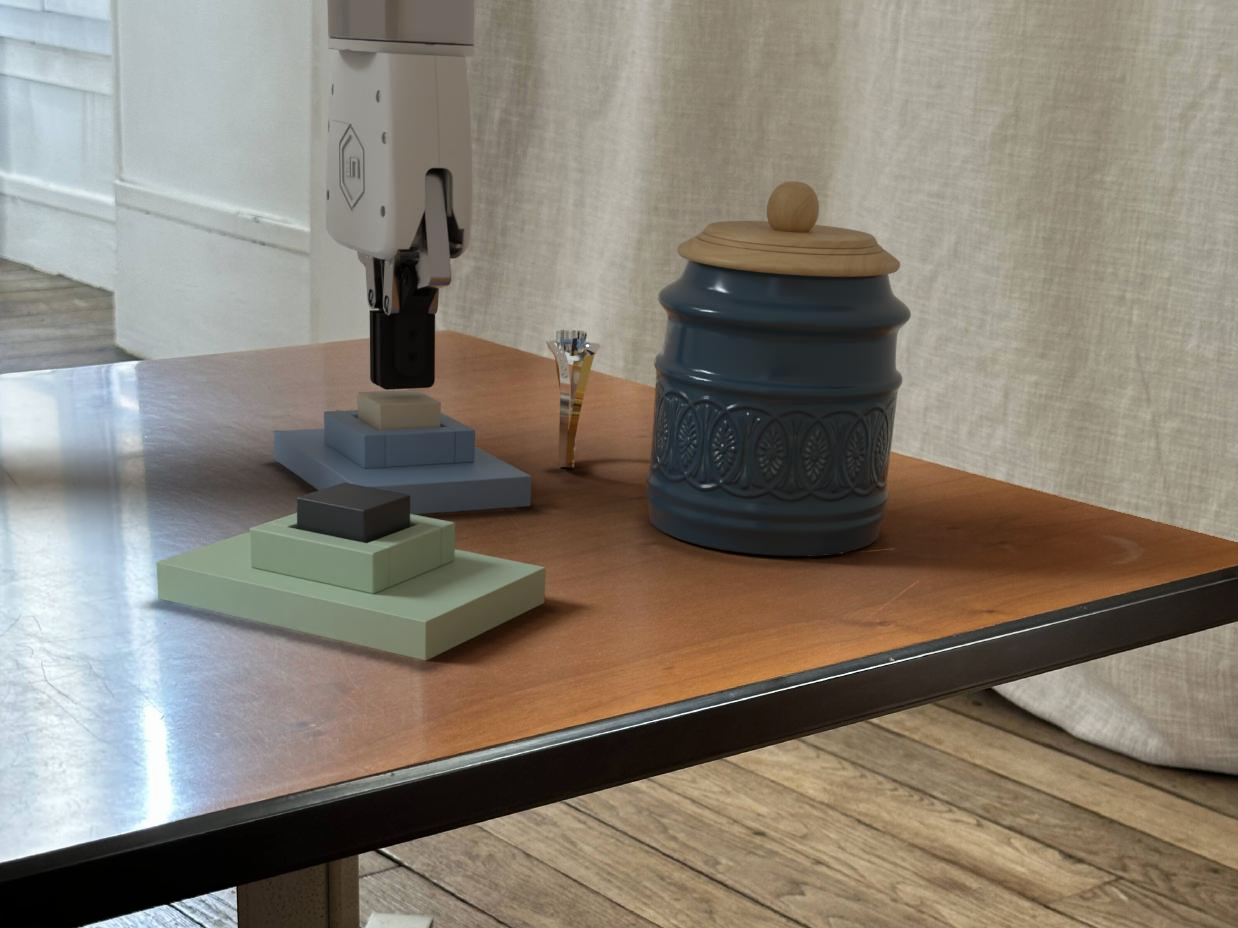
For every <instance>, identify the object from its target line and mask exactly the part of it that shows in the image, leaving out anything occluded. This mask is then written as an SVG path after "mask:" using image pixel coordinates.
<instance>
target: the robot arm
mask: <svg viewBox="0 0 1238 928" xmlns="http://www.w3.org/2000/svg"><path fill="white" fill-rule="evenodd" d="M476 8H477V0H327V37H328V38H327V49H328V50H334V57H333V62H332V70H331V79H330V90H329V100H328V101H329V102H328V117H327V118H328V119H327V141H326V142H327V145H326V146H327V147H326V179H325V180H326V184H325V223H326V224H325V226H326V227H325V228H326V230H327V232H328V235H329V236H330V238H331V239H333V240H334V241H335V242H336V243H337V244H339V245H340V246H342V247H345V248H347V249H350V250H353V251H356V252H357V254H356V255H357V258H358V261H359V262H360V263H361V265H363V266H364V268H365V280H366V299H367V305H368V307H369V309H370V310H369V380H370V381H371V383H372V384H374V385H375V386H378V387H380V388H381V389H383V390H385V391H393V390H415V389H430V388H432V387H433V386H434V384H435V382H436V314H437V313H438V311H439V298H440V297H439V296H440V289H441V288H445V287H448V286H450V285H451V282H452V266H451V265H452V264H451V259H453V260H454V259H458V258H459V257H461V256H462V255H463V254H464V253H466V251H467V249H468V248H469V246H470V242H471V234H472V220H473V145H472V123H471V105H470V103H471V102H470V91H469V89H470V88H469V78H468V68H467V67H468V66H467V57H468V58H469V57H472V58H473V57H476V45H475V44H476V12H477V11H476Z"/></svg>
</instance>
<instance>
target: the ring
mask: <svg viewBox="0 0 1238 928" xmlns="http://www.w3.org/2000/svg"><path fill="white" fill-rule="evenodd" d="M555 333H556V336H555V339H552V340H546V341H545V343H546V345H547V349H548V350H549V351H550V352H551V354H552V356H553V357H554V360H555V367H556V374H557V375H556V376H557V380H558V387H559V399H560V400H559V427H558V428H559V429H558V430H559V432H558V458H559V459H558V463H559V468H560V469H573V470H574V469H575V465H576V461H575V459H576V453H577V452H576V451H577V440H578V425H579V421H580V416H581V411H582V407H583V404H584V399H585V395H586V390H587V385H588V381H589V376H590V373H591V369H592V366H593V362H594V358H595V355H596V354H597V353H598V351H599V350H600V348H601V344H600V343H598V342H591V341H587V336H588V333H587V331H585V330H573V329H572V330H571V331H570V330H565V329H560V330H556V332H555ZM569 361H572V368H571V374H570V365H569Z"/></svg>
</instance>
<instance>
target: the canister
mask: <svg viewBox="0 0 1238 928" xmlns="http://www.w3.org/2000/svg"><path fill="white" fill-rule="evenodd" d="M819 202H820V201H819V198H818V196H817V194H816V192H815V190H814V189H813V188H812V187H811V186H810V185H809V184H807V183H804V182H802V181H791V180H790V181H785V182H782V183H780V184H779V185H777V186H776V187H775V188H774V189H773V191H772V192H771V194H770V196H769V198H768V200H767V205H766V219H767V220H727V221H725V220H724V221H716V222H711V223H708V224H707V225H706V227H705V228H704V229H703V231H701V232H699V233H698V234H696V235H695V236H693V237H690V238H689V239H687V240H685V241H683V242H682V243H680V244H679V245H678V246H677V254H678V256H680V258H683V259H685V260H686V262H685V264H684V267H683V269H682V271H681V274H680V275H679V277H678V278H677V279H676V280H674V281H672V282H670V283H669V284H668V285H666V286H664V287H663V288H662V289H661V290H660V291H659V292H658V294H657V301H658V303H659V304H660V306H661V307H662V308H663V310H664V311H665V313H666V326H665V327H666V328H665V334H664V336H665V337H664V342H663V347H662V350H661V351H660V352H659V353H658V354H656V356H655V357H654V359H653V367H654V368H655V373H656V374H655V388H654V403H653V405H654V406H653V419H652V433H651V434H652V435H651V448H650V461H649V462H650V463H649V464H650V465H649V468H648V469H647V471H646V474H645V480H646V483H647V484H646V486H645V492H644V494H645V499H646V502H647V505H648V520H649V521H650V523H651V524H652V525H653V526H654V527H655V528H656V529H658V530H659V531H661V532H663V533H664V534H666V535H668V536H670V537H673V538H676V539H678V540H681V541H684V542H687V543H691V544H695V545H697V546H702V547H706V548H710V549H715V550H720V551H728V552H733V553H734V552H735V553H742V554H750V555H759V556H777V557H816V556H829V555H839V554H843V553H849V552H854V551H857V550H860V549H863V548H865V547H868V546H870V545H871V544H872V543H874V542H875V541H877V539H878V538H879V535H880V530H881V526H882V523H883V521H884V519H885V518H886V515H887V512H888V509H887V508H888V507H887V503H888V500H889V496H890V495H889V489H888V475H889V467H890V459H891V450H892V443H893V434H894V427H895V419H896V410H897V402H898V395H899V390H900V388H901V386H902V384H903V375H902V373H901V372H900V371H899V370H898V369H897V344H898V343H897V342H898V334H899V331H900V330H901V329H902V328H903V327H904V326H905V325H906V324H907V323H908V322H909V321H910V319H911V318H912V317H911V316H912V312H911V309H910V308H909V307H908V305H907V304H906V303H904V302H903V301H902V300H900V299H899V297H897V296H896V295H895V294H894V293H893V289H892V285H891V281H890V277H889V275H891V274H894V273H897V272H898V271H899V269H900V268H901V262H900V260H899V259H898V258H896V257H895V256H894V255H893V254H891V253H890V252H889V251H887V250H886V249H884V247H882V246H881V245H880V244H879V243H878V241H877V239H876V237H875V236H874V235H873V234H870V233H867V232H864V231H860V230H856V229H851V228H844V227H837V226H830V225H823V224H822V225H821V224H816V223H817V221H818V217H819V213H820V204H819Z"/></svg>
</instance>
